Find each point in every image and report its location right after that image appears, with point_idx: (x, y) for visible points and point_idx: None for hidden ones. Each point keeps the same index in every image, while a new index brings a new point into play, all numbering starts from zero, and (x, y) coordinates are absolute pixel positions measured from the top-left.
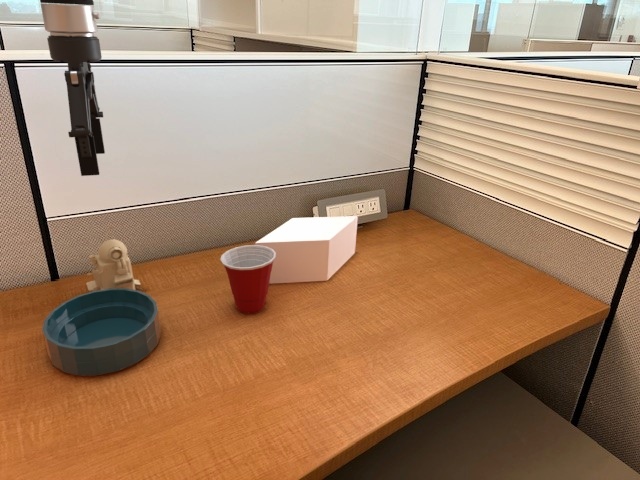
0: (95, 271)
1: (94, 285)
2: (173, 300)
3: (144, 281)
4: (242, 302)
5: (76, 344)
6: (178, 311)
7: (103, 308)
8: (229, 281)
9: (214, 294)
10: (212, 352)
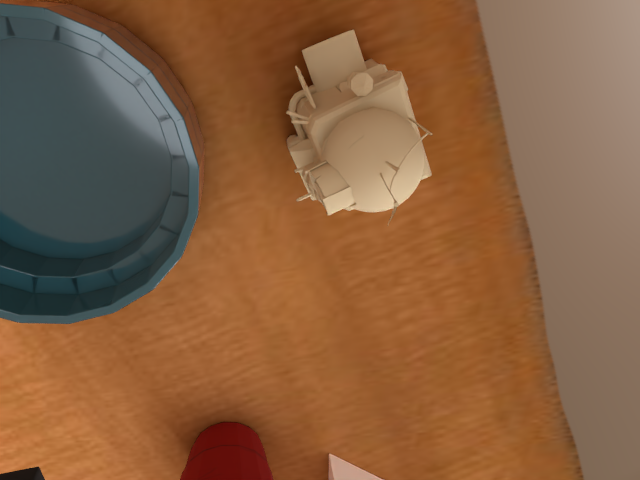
0: (307, 96)
1: (320, 67)
2: (270, 281)
3: None
4: (188, 462)
5: (34, 76)
6: (214, 300)
7: (163, 135)
8: (217, 470)
9: (291, 371)
10: (38, 390)
